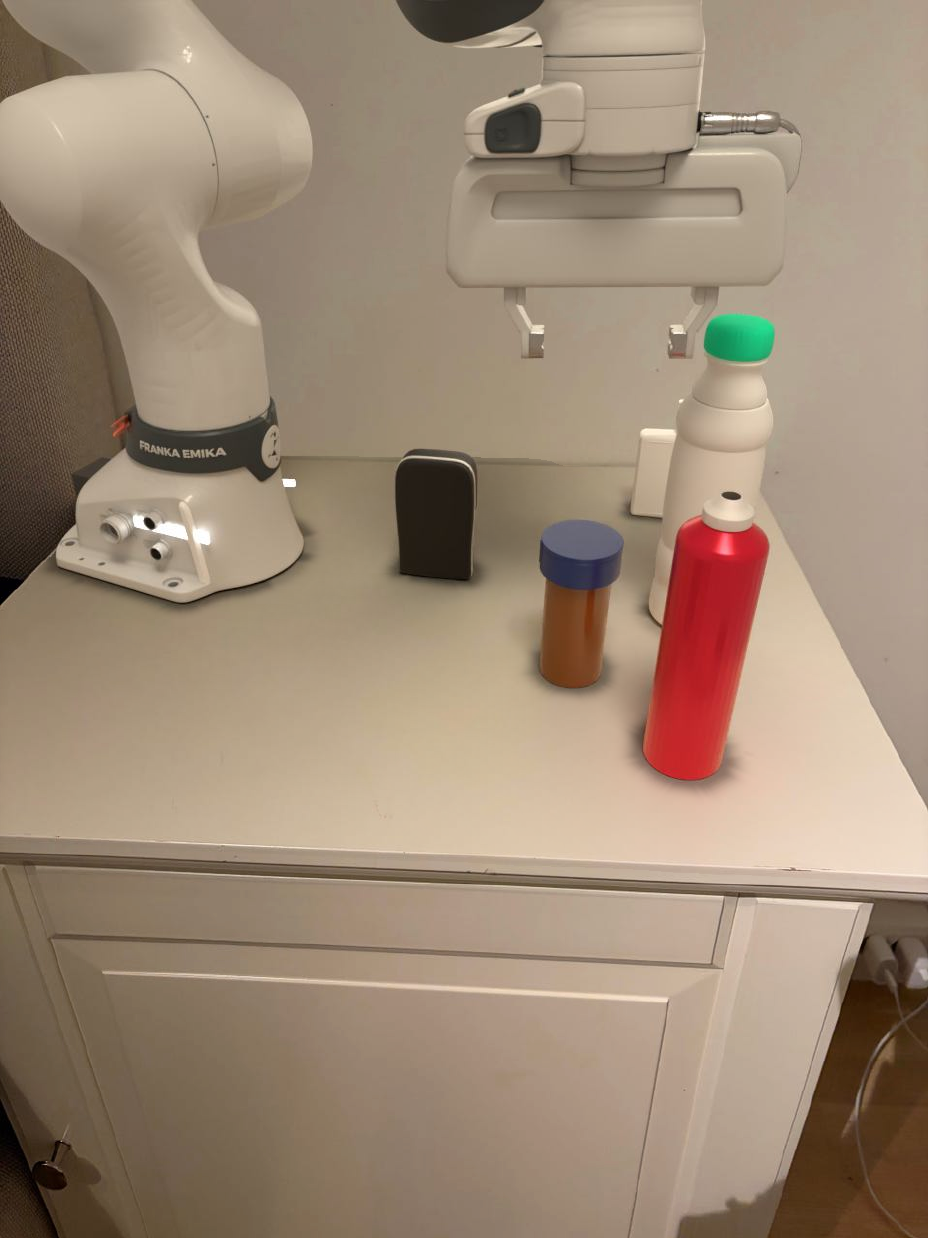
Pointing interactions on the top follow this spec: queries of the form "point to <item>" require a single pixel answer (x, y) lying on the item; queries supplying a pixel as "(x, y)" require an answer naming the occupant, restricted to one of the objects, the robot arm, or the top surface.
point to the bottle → (704, 637)
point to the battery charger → (436, 513)
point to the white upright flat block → (652, 471)
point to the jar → (573, 634)
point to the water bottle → (717, 433)
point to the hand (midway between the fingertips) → (605, 356)
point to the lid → (580, 554)
